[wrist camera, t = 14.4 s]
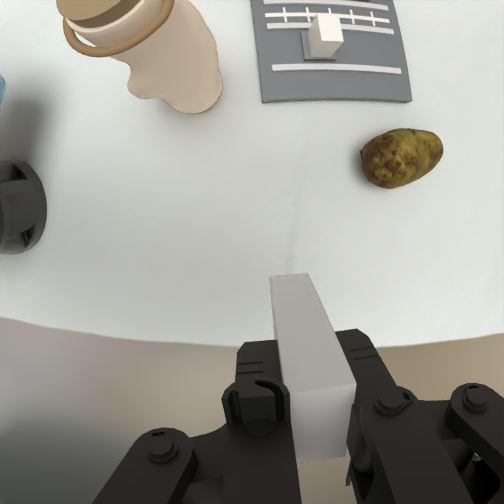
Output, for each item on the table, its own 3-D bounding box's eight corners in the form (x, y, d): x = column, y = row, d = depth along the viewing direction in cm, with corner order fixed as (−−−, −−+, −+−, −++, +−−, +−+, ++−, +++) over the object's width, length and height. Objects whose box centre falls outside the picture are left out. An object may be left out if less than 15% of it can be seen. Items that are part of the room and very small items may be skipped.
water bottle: (141, 76, 35) (4, -5, 9) (196, 36, 34) (124, -100, 7) (183, 132, 38) (60, 95, 11) (240, 91, 36) (219, -26, 10)
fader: (303, 60, 33) (314, 42, 27) (300, 33, 32) (309, 11, 25) (335, 60, 33) (351, 43, 26) (330, 34, 32) (345, 12, 25)
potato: (428, 191, 40) (459, 199, 32) (347, 182, 40) (369, 189, 32) (432, 135, 38) (464, 133, 30) (350, 121, 37) (372, 113, 30)
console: (262, 102, 37) (263, 99, 34) (245, -40, 30) (244, -50, 27) (405, 102, 36) (414, 100, 34) (376, -34, 29) (382, -41, 27)
